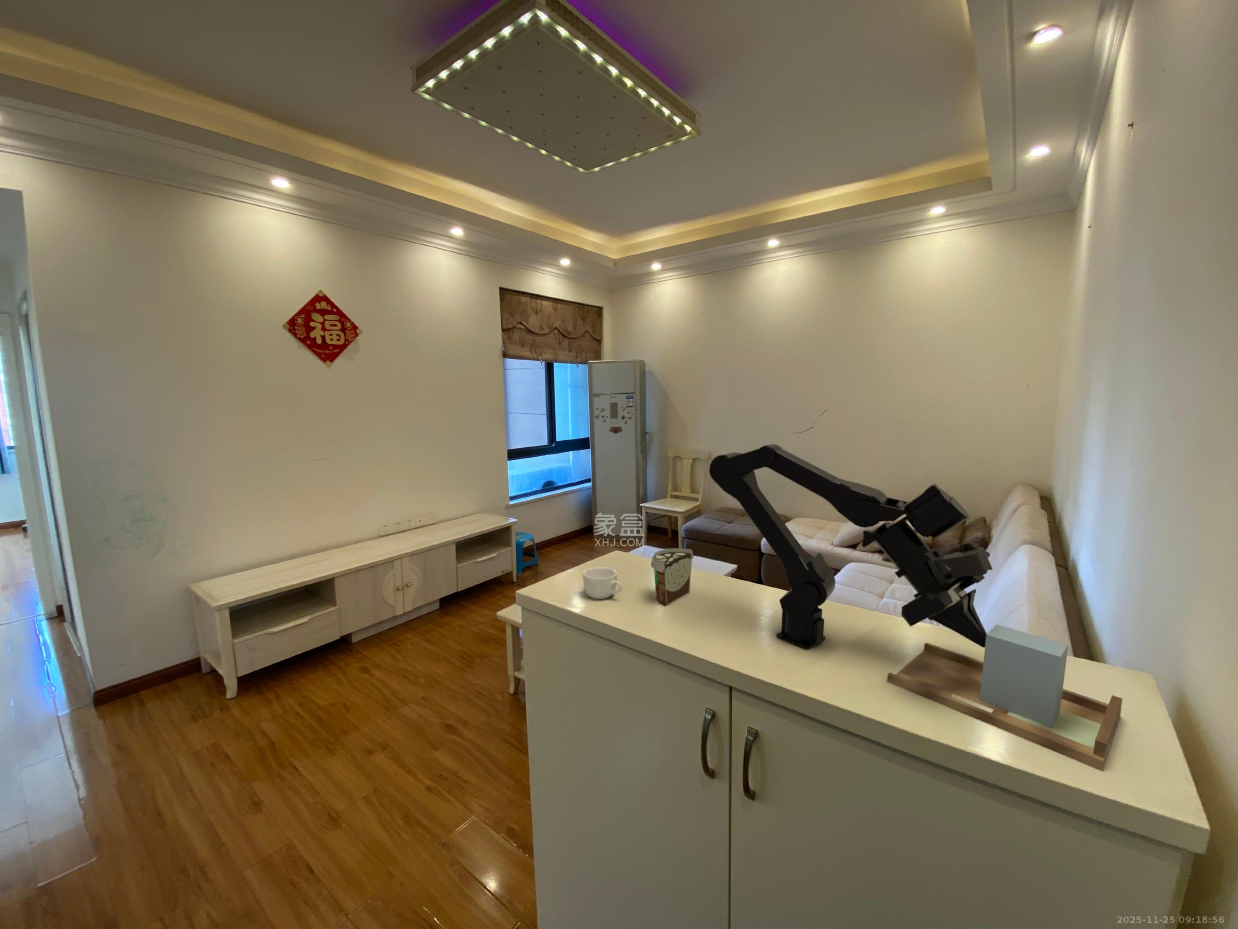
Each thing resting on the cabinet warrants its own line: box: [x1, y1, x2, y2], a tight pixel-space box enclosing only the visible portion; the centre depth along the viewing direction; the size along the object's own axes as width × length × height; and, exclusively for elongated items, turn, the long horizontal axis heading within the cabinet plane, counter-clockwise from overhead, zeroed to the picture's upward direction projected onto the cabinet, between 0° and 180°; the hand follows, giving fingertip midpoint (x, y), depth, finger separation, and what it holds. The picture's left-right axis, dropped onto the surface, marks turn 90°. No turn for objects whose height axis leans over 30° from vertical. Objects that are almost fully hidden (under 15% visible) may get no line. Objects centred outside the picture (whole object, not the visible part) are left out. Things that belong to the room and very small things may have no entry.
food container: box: [650, 548, 694, 607], centre depth 111 cm, size 12×6×10 cm, turn 141°
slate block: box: [980, 624, 1069, 728], centre depth 69 cm, size 8×5×10 cm, turn 40°
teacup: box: [582, 566, 622, 600], centre depth 112 cm, size 10×8×5 cm
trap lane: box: [886, 642, 1123, 772], centre depth 72 cm, size 24×16×4 cm, turn 40°
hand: (987, 645), depth 73 cm, fingers closed
